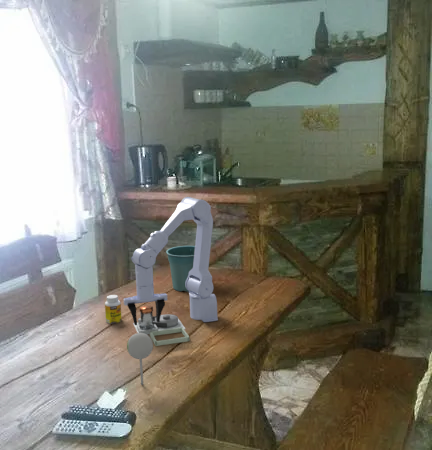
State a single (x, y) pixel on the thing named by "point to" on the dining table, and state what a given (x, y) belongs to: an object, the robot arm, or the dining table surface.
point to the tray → (169, 341)
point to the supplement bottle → (113, 309)
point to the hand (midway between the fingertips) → (146, 322)
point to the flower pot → (180, 265)
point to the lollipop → (140, 348)
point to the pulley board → (161, 324)
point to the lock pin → (146, 317)
